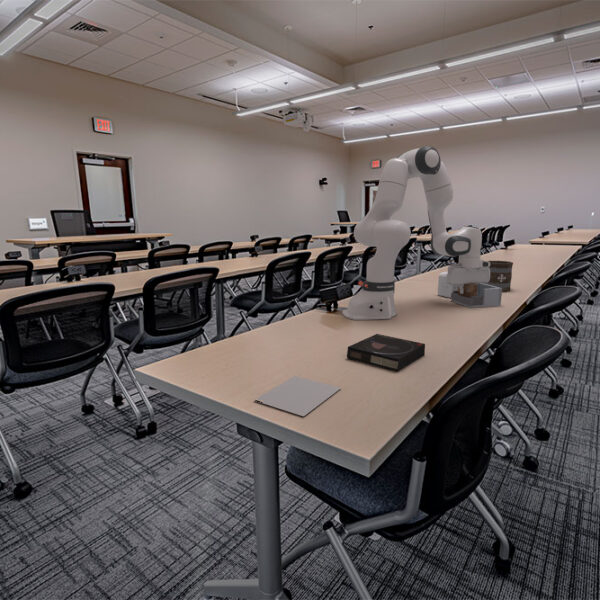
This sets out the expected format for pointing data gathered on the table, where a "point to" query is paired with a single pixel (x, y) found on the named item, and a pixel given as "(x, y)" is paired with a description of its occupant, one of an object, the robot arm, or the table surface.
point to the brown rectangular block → (469, 290)
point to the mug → (500, 275)
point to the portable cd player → (386, 352)
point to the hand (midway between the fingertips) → (466, 293)
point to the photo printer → (445, 286)
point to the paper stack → (298, 395)
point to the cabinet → (480, 297)
